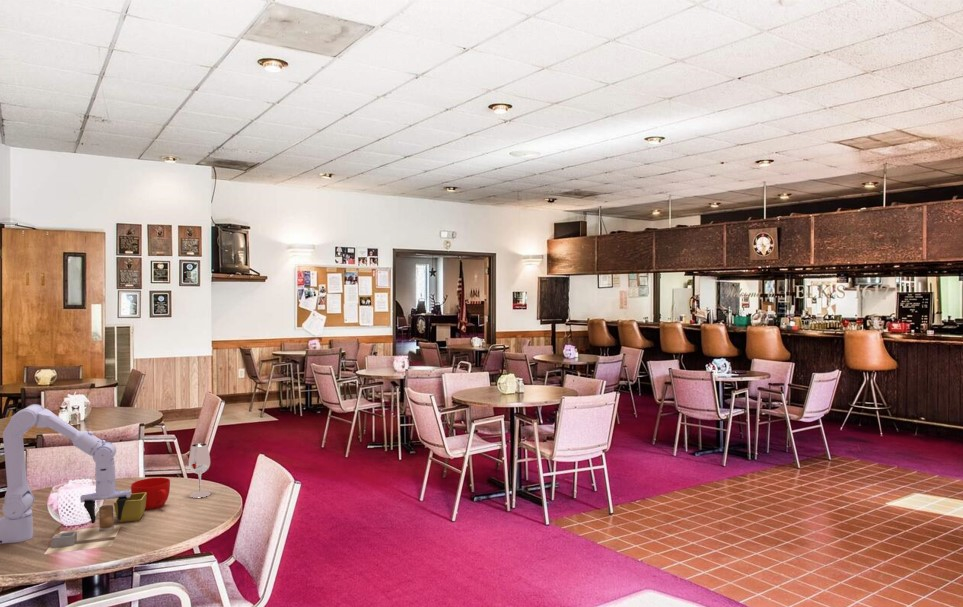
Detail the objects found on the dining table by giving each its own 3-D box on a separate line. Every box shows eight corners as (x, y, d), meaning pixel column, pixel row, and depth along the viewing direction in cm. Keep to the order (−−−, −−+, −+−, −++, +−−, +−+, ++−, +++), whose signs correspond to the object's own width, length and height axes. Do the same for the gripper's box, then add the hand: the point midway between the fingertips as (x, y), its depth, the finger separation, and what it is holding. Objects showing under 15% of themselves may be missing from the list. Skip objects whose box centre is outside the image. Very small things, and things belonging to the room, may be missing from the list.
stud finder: (51, 548, 208) (51, 537, 208) (55, 543, 211) (54, 533, 211) (73, 545, 210) (73, 535, 210) (76, 540, 213) (76, 530, 213)
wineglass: (189, 493, 266) (188, 443, 265) (210, 491, 269) (209, 441, 268) (189, 499, 258) (188, 448, 258) (211, 496, 262) (210, 445, 261)
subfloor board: (43, 559, 203) (43, 554, 203) (60, 536, 222) (60, 531, 222) (110, 550, 209) (110, 546, 209) (121, 528, 228) (121, 524, 228)
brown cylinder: (97, 532, 221) (97, 509, 220) (100, 527, 225) (99, 505, 225) (112, 530, 222) (112, 508, 222) (115, 526, 226) (114, 504, 226)
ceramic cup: (147, 520, 236) (147, 492, 236) (124, 510, 246) (124, 483, 246) (183, 510, 246) (182, 483, 246) (159, 501, 257) (159, 475, 256)
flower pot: (113, 528, 229) (113, 502, 228) (120, 519, 237) (119, 494, 237) (142, 525, 231) (141, 499, 231) (147, 517, 239) (147, 492, 239)
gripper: (77, 486, 217) (79, 527, 217) (128, 481, 222) (129, 521, 222) (82, 480, 223) (83, 520, 224) (131, 475, 228) (132, 515, 229)
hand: (106, 520), depth 223 cm, fingers open, 7 cm apart
